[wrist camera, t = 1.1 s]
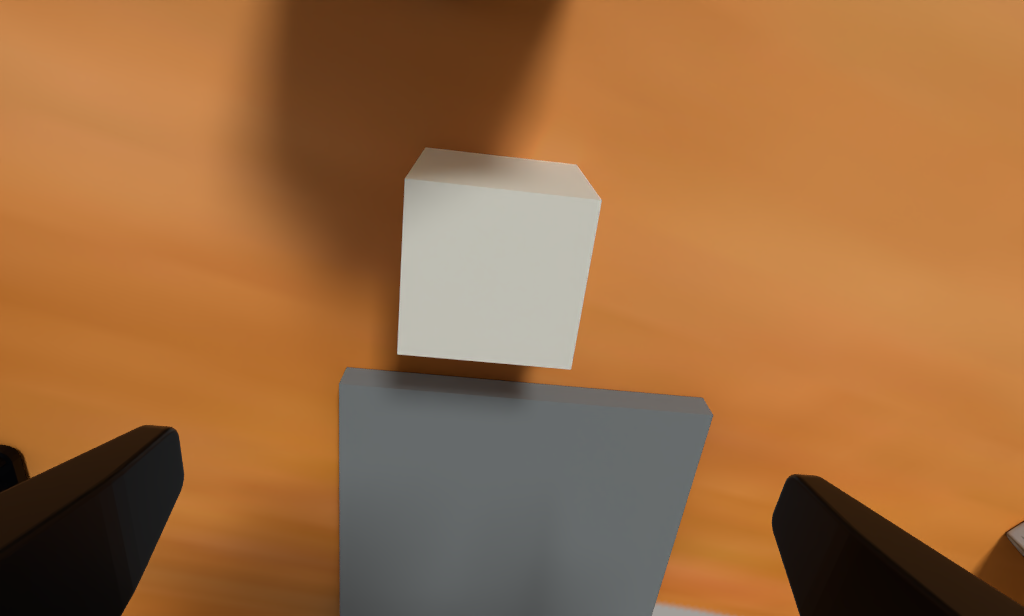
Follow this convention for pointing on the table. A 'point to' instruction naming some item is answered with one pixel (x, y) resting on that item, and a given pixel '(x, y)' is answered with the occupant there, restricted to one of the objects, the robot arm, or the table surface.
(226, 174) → the table surface
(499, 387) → the rubber mat
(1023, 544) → the coffee box
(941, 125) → the table surface
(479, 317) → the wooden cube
